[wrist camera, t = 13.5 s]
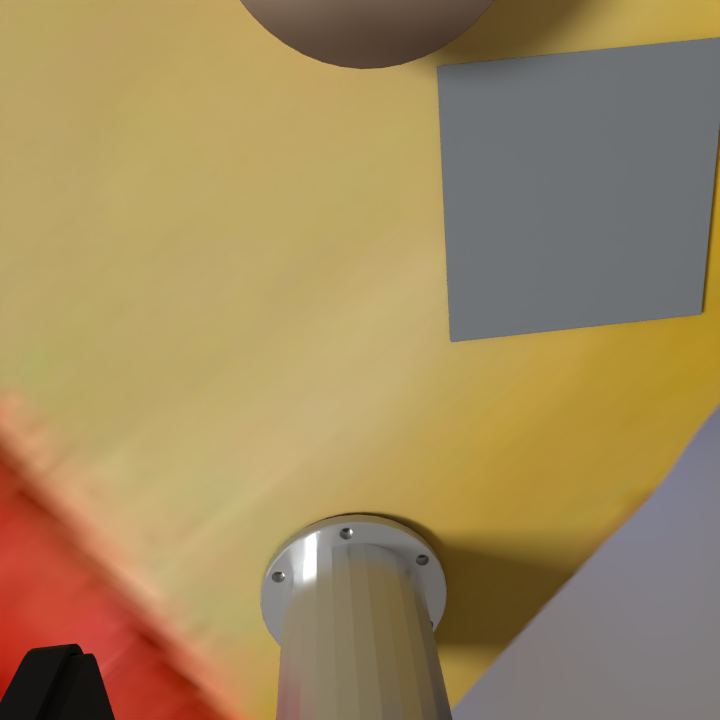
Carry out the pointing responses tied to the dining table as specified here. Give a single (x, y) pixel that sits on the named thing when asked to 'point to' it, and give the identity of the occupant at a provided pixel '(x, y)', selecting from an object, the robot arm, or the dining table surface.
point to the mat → (578, 186)
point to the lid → (366, 27)
